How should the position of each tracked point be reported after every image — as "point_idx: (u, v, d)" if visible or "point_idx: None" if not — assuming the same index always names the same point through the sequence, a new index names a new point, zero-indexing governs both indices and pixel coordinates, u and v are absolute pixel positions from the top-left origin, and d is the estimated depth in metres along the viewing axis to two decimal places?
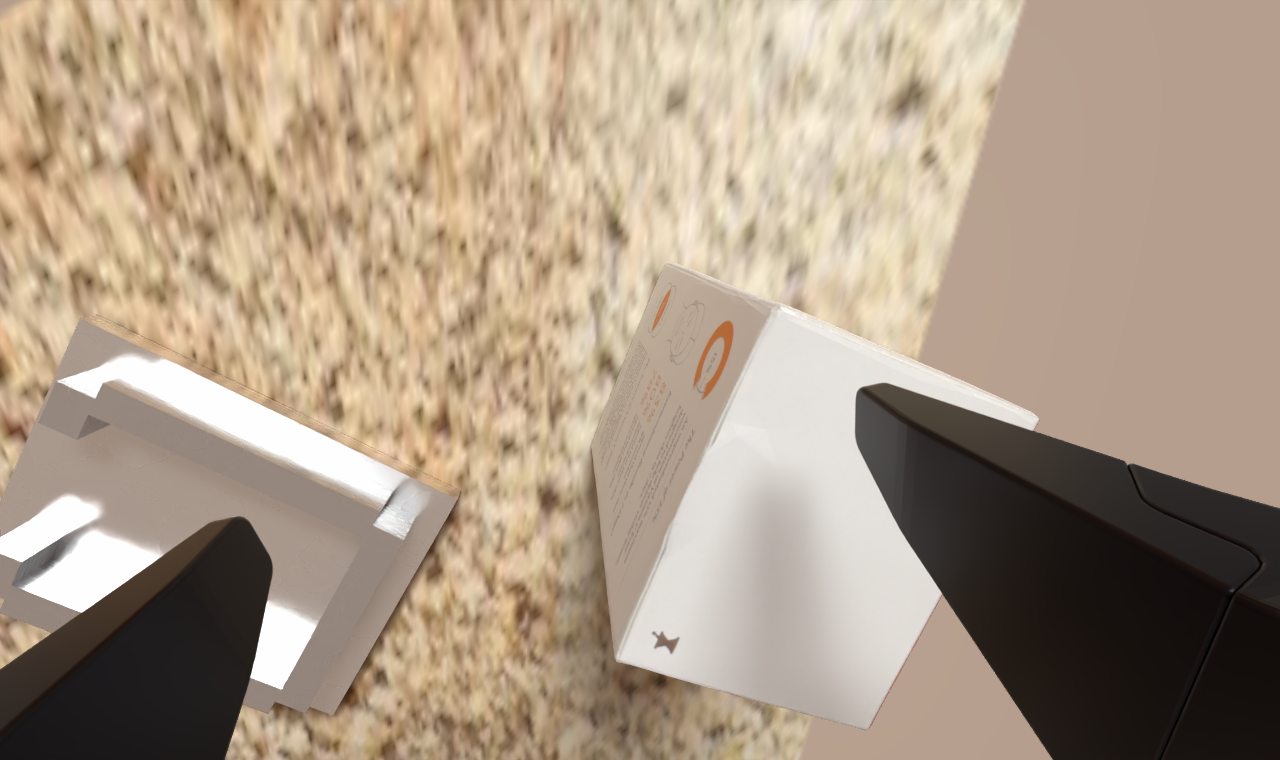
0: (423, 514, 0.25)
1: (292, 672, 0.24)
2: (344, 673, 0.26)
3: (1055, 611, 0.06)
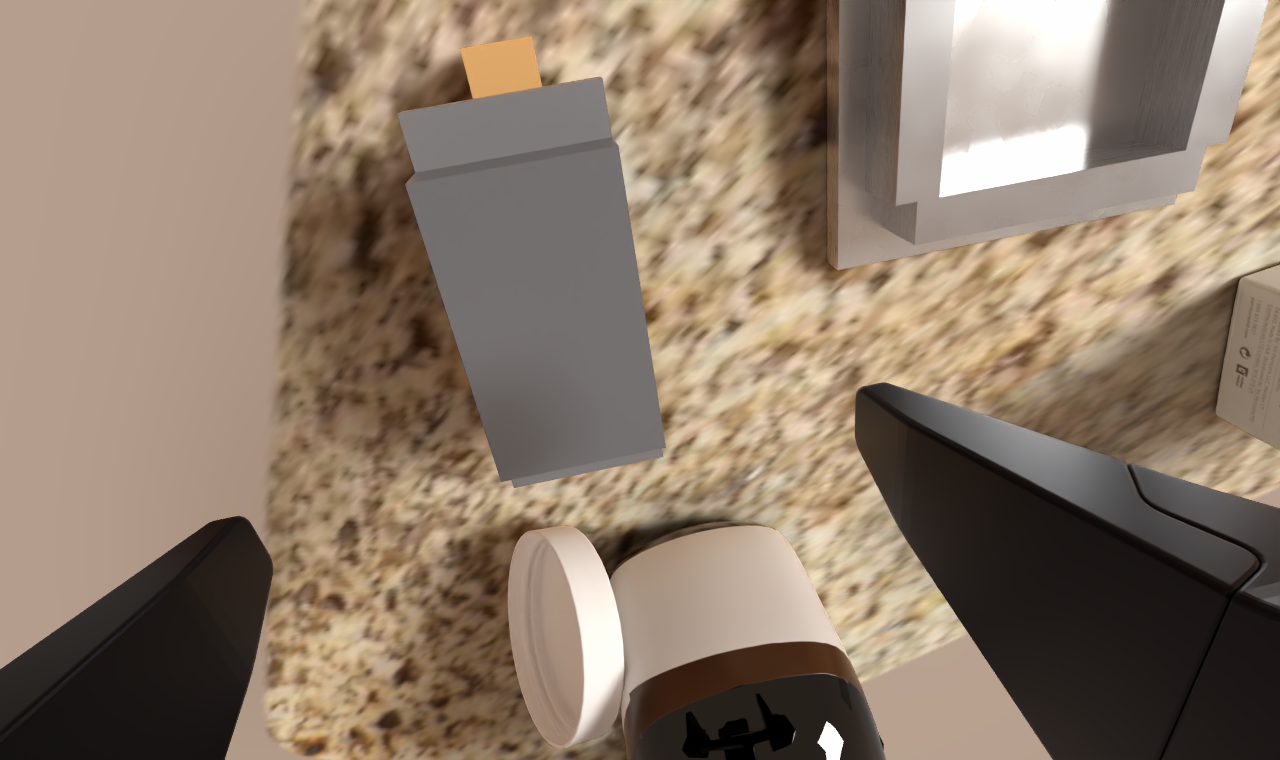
0: None
1: (970, 193, 0.17)
2: (903, 243, 0.19)
3: (1055, 611, 0.06)
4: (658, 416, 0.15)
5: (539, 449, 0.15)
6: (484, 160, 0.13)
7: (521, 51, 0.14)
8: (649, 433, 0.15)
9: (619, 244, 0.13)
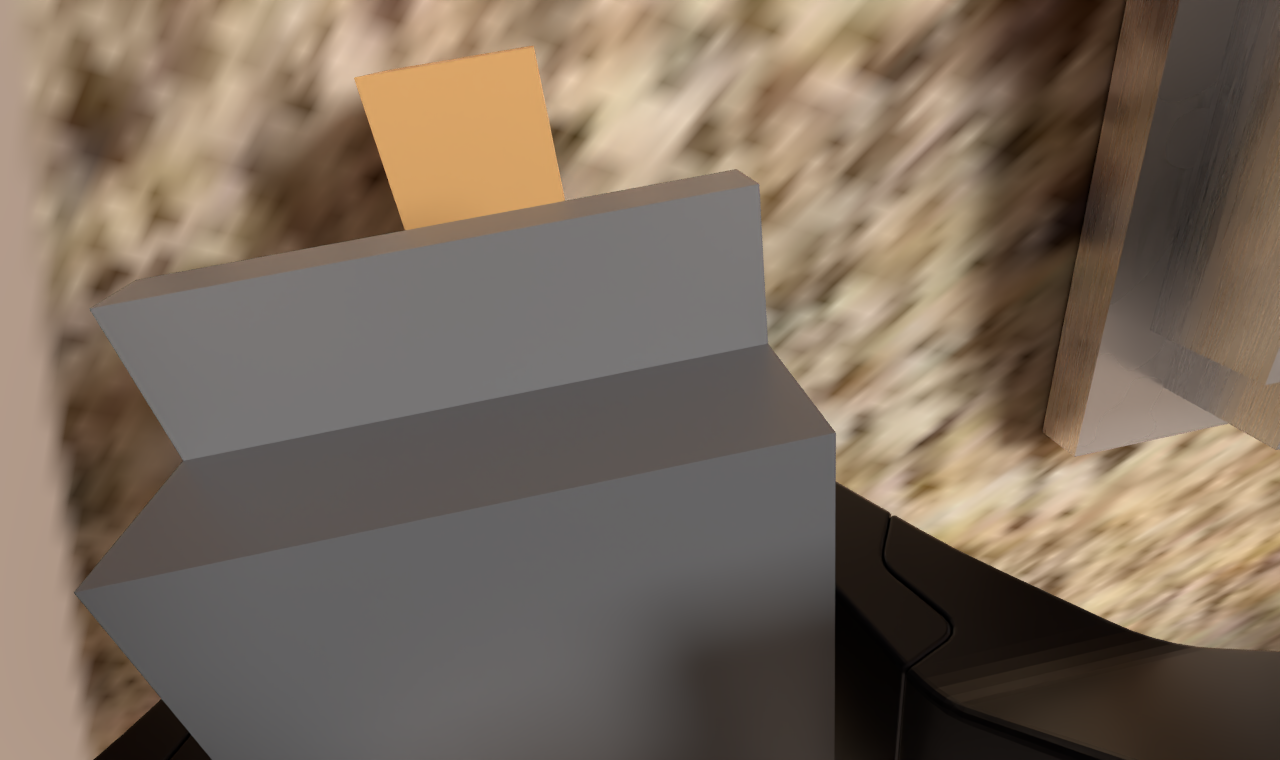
0: None
1: None
2: (1192, 411, 0.11)
3: None
4: None
5: None
6: (392, 422, 0.04)
7: (508, 84, 0.06)
8: None
9: (793, 665, 0.04)
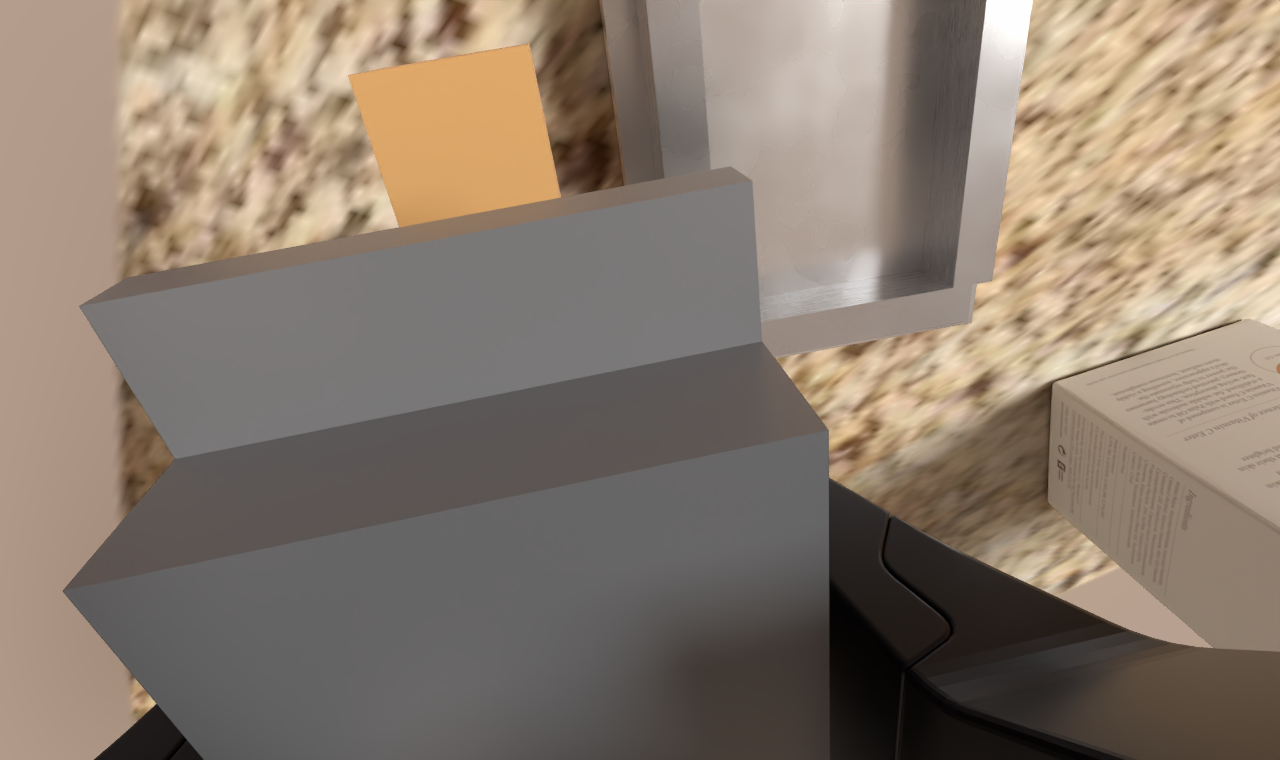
0: None
1: None
2: None
3: None
4: None
5: None
6: (384, 420, 0.04)
7: (503, 82, 0.06)
8: None
9: (788, 664, 0.04)
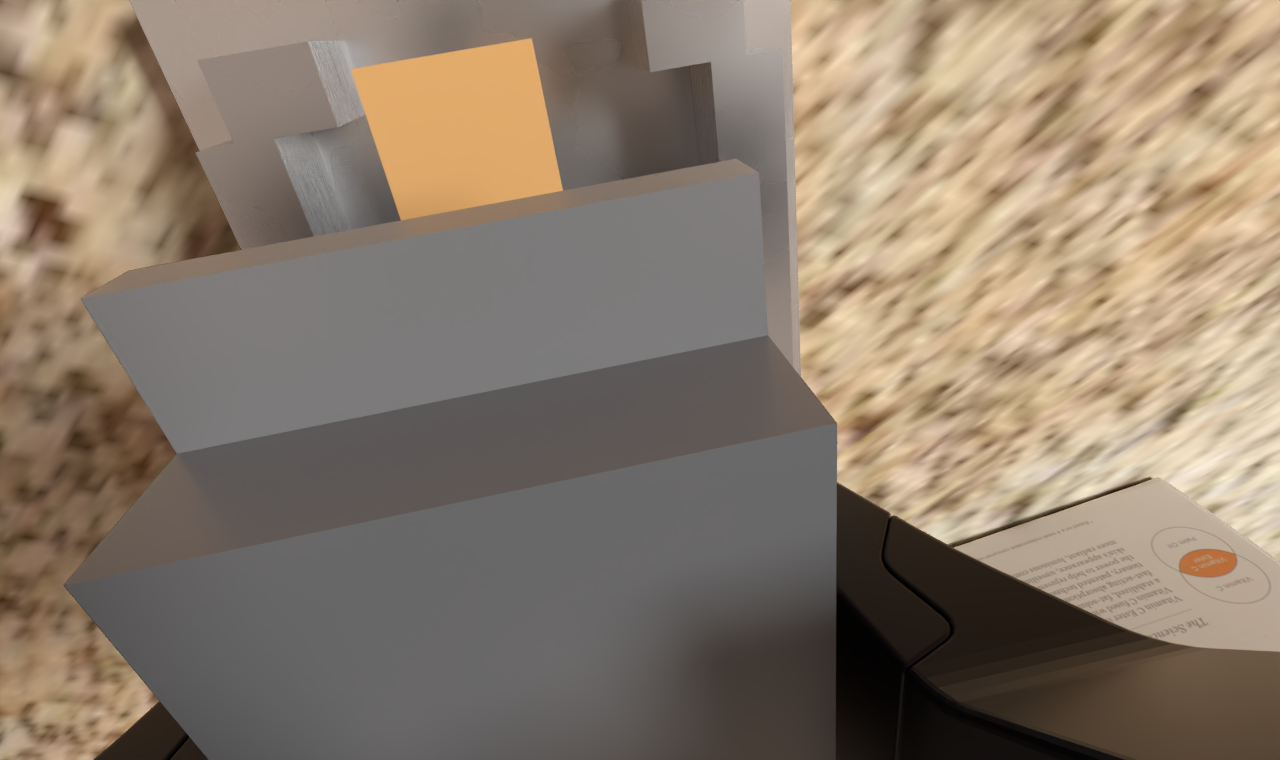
0: None
1: None
2: None
3: None
4: None
5: None
6: (388, 415, 0.04)
7: (506, 75, 0.06)
8: None
9: (794, 660, 0.04)
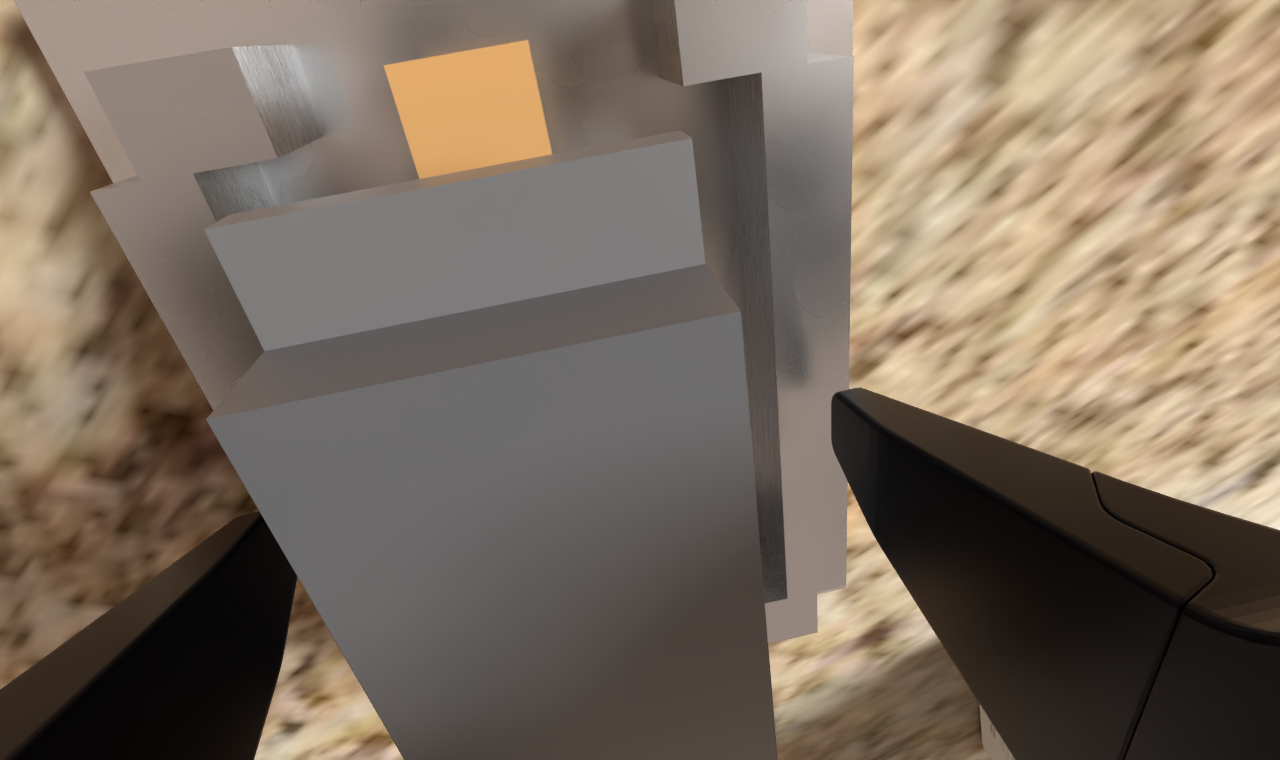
0: None
1: None
2: None
3: (1019, 619, 0.06)
4: None
5: None
6: (421, 321, 0.06)
7: (507, 70, 0.07)
8: None
9: (725, 506, 0.06)
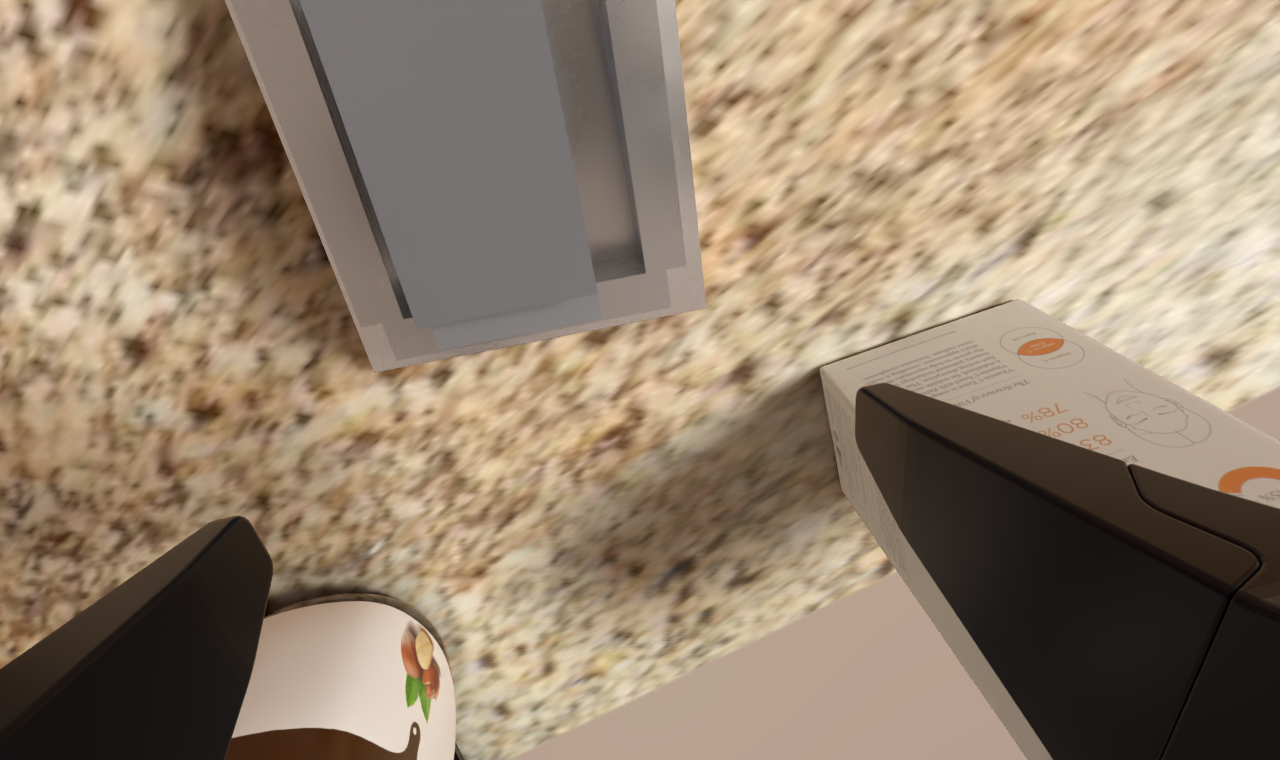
0: (668, 291, 0.21)
1: None
2: None
3: (1055, 611, 0.06)
4: (587, 254, 0.14)
5: (456, 290, 0.14)
6: None
7: None
8: (578, 275, 0.14)
9: (531, 33, 0.12)
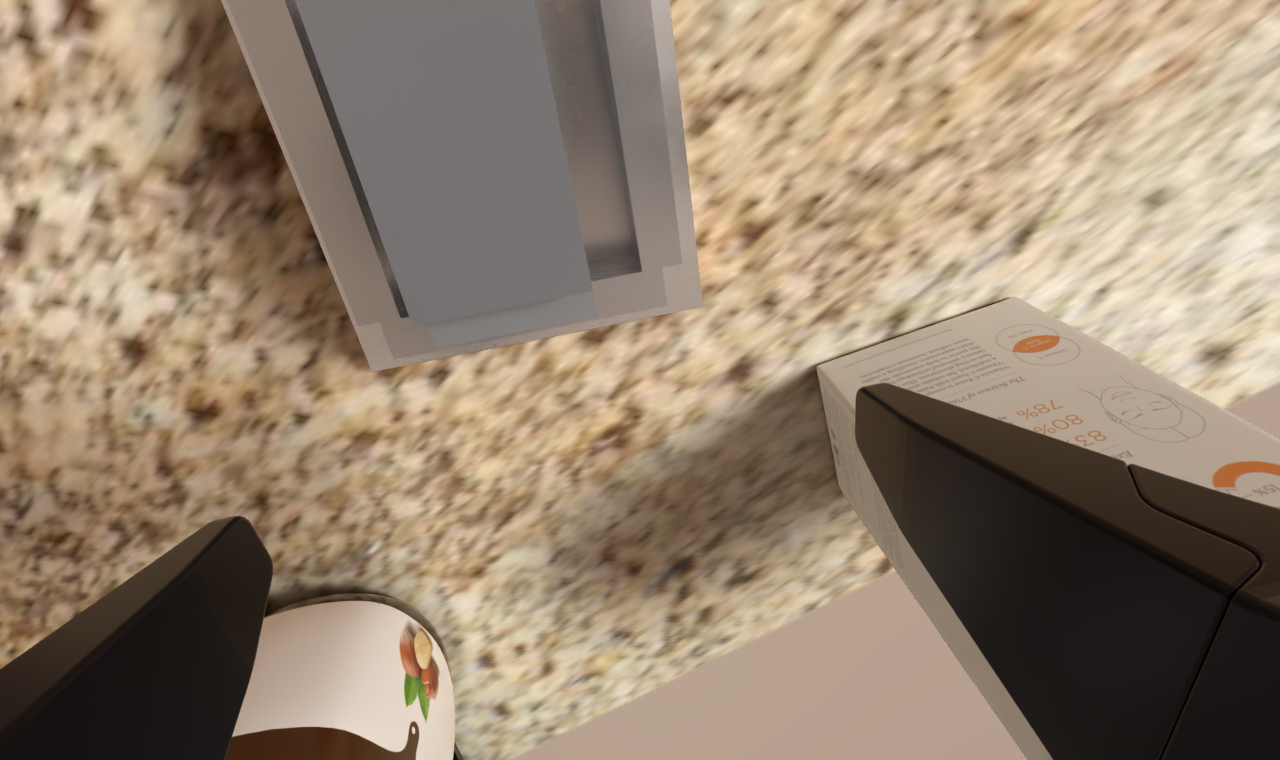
0: (665, 290, 0.21)
1: None
2: None
3: (1055, 611, 0.06)
4: (582, 251, 0.14)
5: (452, 287, 0.14)
6: None
7: None
8: (573, 272, 0.14)
9: (524, 31, 0.12)
